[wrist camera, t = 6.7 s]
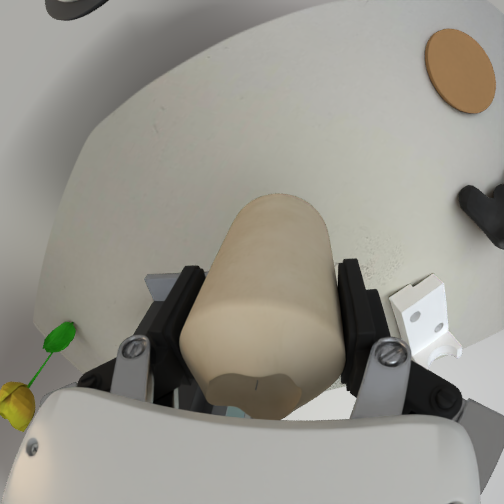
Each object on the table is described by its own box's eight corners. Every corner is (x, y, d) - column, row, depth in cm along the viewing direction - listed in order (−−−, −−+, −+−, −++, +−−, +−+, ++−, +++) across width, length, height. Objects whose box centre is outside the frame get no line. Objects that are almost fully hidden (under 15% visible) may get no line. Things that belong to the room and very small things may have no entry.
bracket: (438, 326, 36) (461, 355, 29) (404, 350, 37) (425, 382, 31) (429, 269, 31) (461, 298, 25) (388, 297, 33) (416, 332, 26)
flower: (88, 340, 53) (29, 440, 28) (63, 324, 53) (1, 416, 27) (84, 318, 49) (13, 428, 23) (57, 302, 48) (-16, 401, 23)
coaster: (416, 22, 16) (419, 20, 15) (484, 40, 14) (488, 39, 13) (430, 108, 21) (433, 108, 20) (495, 117, 19) (498, 118, 18)
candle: (336, 266, 16) (353, 427, 8) (251, 284, 18) (213, 432, 9) (314, 180, 13) (335, 330, 5) (217, 208, 15) (128, 351, 7)
